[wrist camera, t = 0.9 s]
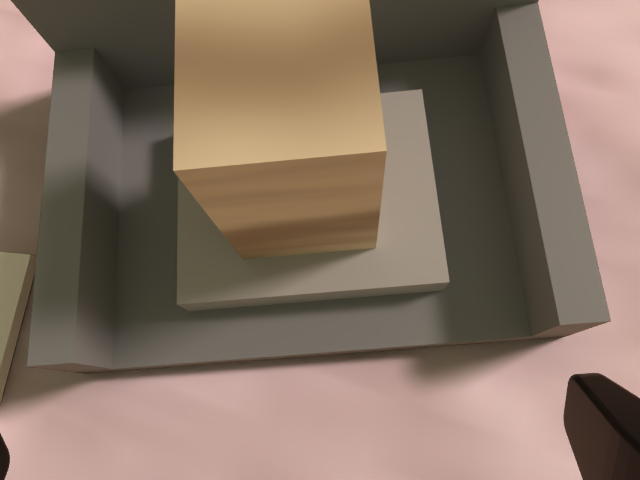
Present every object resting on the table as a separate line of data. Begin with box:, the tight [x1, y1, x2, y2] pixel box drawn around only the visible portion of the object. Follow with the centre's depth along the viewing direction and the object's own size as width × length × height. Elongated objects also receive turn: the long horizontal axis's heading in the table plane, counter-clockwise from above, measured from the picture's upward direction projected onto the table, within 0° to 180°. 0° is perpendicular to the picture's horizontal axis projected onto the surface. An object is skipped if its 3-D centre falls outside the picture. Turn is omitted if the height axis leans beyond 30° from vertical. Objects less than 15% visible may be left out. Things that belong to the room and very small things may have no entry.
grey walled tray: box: [11, 0, 611, 373], centre depth 20 cm, size 14×19×8 cm
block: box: [173, 0, 387, 259], centre depth 17 cm, size 5×5×8 cm
